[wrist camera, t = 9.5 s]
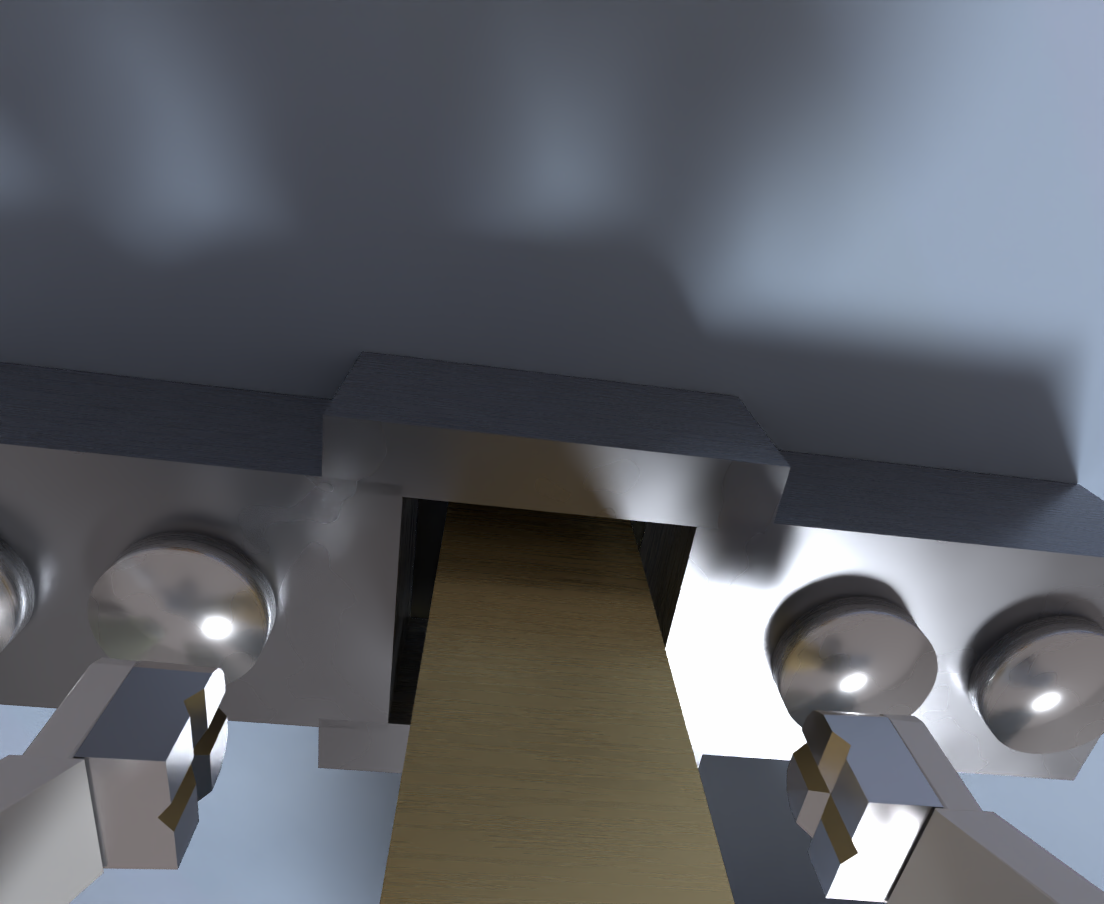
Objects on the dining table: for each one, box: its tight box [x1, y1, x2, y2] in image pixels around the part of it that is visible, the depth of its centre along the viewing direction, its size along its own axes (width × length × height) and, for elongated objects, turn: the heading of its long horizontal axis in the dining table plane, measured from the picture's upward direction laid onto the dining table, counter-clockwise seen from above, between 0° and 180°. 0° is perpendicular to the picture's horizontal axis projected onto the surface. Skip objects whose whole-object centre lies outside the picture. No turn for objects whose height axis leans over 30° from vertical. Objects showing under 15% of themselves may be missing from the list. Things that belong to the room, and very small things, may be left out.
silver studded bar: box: [0, 352, 1104, 780], centre depth 14 cm, size 7×22×4 cm, turn 82°
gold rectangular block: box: [380, 502, 735, 904], centre depth 11 cm, size 3×3×9 cm
